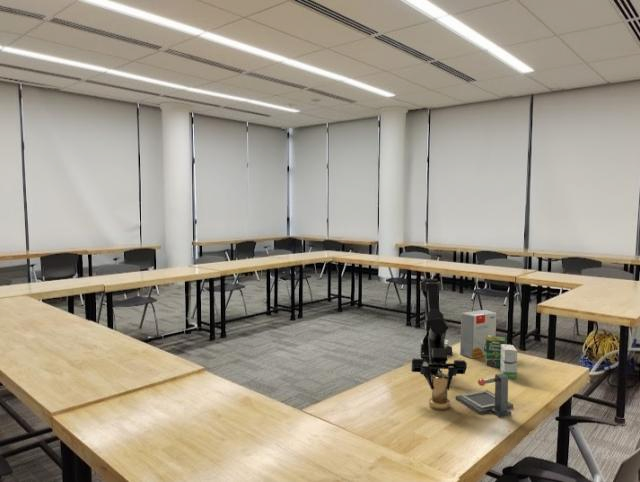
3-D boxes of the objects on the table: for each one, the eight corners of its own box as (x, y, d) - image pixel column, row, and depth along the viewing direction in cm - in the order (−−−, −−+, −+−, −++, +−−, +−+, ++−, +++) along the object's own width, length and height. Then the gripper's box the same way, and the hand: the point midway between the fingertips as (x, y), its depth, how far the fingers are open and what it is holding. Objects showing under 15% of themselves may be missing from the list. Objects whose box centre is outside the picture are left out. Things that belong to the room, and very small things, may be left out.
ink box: (517, 379, 179) (517, 350, 178) (504, 378, 180) (504, 349, 179) (512, 371, 187) (512, 344, 186) (499, 371, 188) (500, 343, 187)
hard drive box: (471, 359, 203) (472, 316, 202) (459, 354, 210) (460, 312, 209) (495, 353, 210) (496, 312, 209) (483, 349, 217) (483, 309, 216)
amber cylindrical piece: (426, 407, 154) (426, 372, 153) (433, 400, 160) (433, 366, 159) (445, 412, 150) (446, 376, 149) (452, 405, 156) (453, 370, 155)
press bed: (450, 400, 160) (450, 364, 159) (487, 393, 166) (487, 358, 165) (482, 421, 144) (483, 381, 143) (521, 412, 150) (522, 374, 149)
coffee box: (485, 365, 195) (485, 336, 194) (486, 363, 197) (487, 334, 196) (504, 368, 191) (505, 338, 190) (505, 366, 193) (506, 337, 192)
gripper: (412, 336, 159) (413, 378, 149) (466, 338, 156) (471, 381, 146) (410, 351, 167) (412, 391, 157) (462, 352, 164) (467, 394, 154)
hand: (440, 389), depth 153 cm, fingers closed on amber cylindrical piece, 5 cm apart
